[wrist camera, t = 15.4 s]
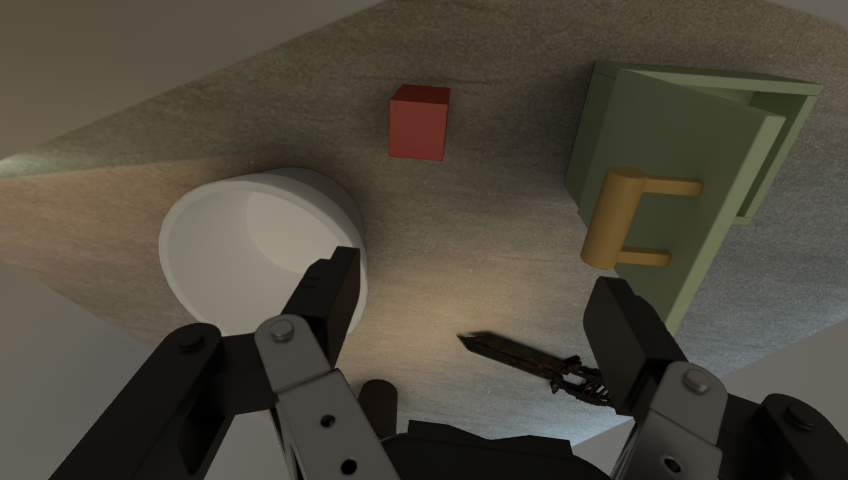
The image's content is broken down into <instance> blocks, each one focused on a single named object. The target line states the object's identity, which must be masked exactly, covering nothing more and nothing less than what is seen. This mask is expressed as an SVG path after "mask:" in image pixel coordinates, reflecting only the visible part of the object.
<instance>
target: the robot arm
mask: <svg viewBox="0 0 848 480" xmlns="http://www.w3.org/2000/svg"><path fill="white" fill-rule="evenodd" d="M360 287H361V254H360V249H359V248H354V247H345V246H337V247H336V249H335V251H334V253H333V254H332V256H331V258H330V259H322V258H320V259H319V260H317V261H316V262H314V263H313V264H311V265H310V266H309V267H308V269H307V270H306V272H305V274H304V275H303V278H302V279H301V280H300V282H299V284H298V286H297V287H296V289H295V290H294V292H293V293H292V295H291V297H290V298H289V300H288V302H287V303H286V305H285V307H284V308H283V310H282V312H281V313H280V315H277V316H274V317H271V318H269V319H267V320H265V321H264V322H263V323H261V324H260V325H259V327H258V328H257V329H256V331H255V332H252V333H247V334H240V335H231V336H223V337H222V334H221V331H220V329H219V328H218V327H217V326H215V325H213V324H210V323H194V324H189V325H186V326H183V327H180V328H178V329H176V330H175V331H173V332H171V333H170V334H169V335H168V336H166V337H165V339H164V340H163V341H162V342H161V343H160V344H159V346H158V347H157V348H156V349H155V351H154V352H153V353H152V354H151V355H150V357H149V358H148V359H147V360H146V362H145V363H144V364H143V365H142V366H141V368H140V369H139V370H138V371H137V372H136V374H135V375H134V376H133V377H132V379H131V380H130V381H129V382H128V383H127V385H126V386H125V387H124V388H123V389H122V391H121V392H120V393H119V394H118V395H117V397H116V398H115V399H114V400H113V402H112V403H111V404H110V405H109V406H108V408H107V409H106V410H105V411H104V413H103V414H102V415H101V416H100V417H99V419H98V420H97V421H96V422H95V424H94V425H93V426H92V427H91V428H90V429H89V431H88V432H87V433H86V434H85V436H84V437H83V438H82V439H81V440H80V442H79V443H78V444H77V445H76V447H75V448H74V449H73V450H72V451H71V453H70V454H69V455H68V456H67V457H66V459H65V460H64V461H63V462H62V464H61V465H60V466H59V467H58V468H57V470H56V471H55V472H54V473H53V474H52V476H51V477H50V478H49V479H48V480H204V478H205V476H206V474H207V471H208V470H209V467H210V465H211V463H212V461H213V459H214V457H215V455H216V453H217V451H218V449H219V447H220V445H221V443H222V441H223V439H224V437H225V435H226V433H227V431H228V429H229V427H230V425H231V423H232V421H233V419H234V417H235V415H238V414H243V413H250V412H256V411H261V410H267V409H268V410H269V413H270V416H271V419H272V422H273V425H274V428H275V431H276V434H277V437H278V441H279V444H280V446H281V449H282V453H283V456H284V459H285V462H286V465H287V469H288V473H289V477H290V480H717V478H718V480H848V443H847V442H846V441H845V440H844V438H843V437H842V436H841V435H840V434H839V432H838V431H837V430H836V429H835V428H834V426H833V425H832V424H831V423H830V422H829V421H828V420H827V419H826V418H825V417H824V416H823V415H822V414H821V413H820V412H818V411H817V410H816V409H814V408H813V407H811V406H810V405H808V404H806V403H805V402H802V401H801V400H799V399H796V398H794V397H791V396H788V395H784V394H777V393H776V394H770V395H768V396H767V397H766V398H765V399H764V400H763V402H762V403H761V404H758V403H754V402H752V401H749V400H746V399H743V398H740V397H737V396H734V395H731V394H729V393H727V390H726V389H725V387H724V385H723V384H722V383H721V381H720V380H719V379H718V378H717V377H716V376H714V375H713V374H712V373H710V372H709V371H707V370H706V369H704V368H702V367H700V366H698V365H696V364H693V363H689V361H688V360H687V358H686V357H685V355H684V354H683V352H682V350H681V349H680V347H679V346H678V344H677V343H676V341H675V340H674V338H673V337H672V335H671V334H670V332H669V331H667V327H666V326H665V324H664V323H663V321H661V318H660V317H659V315H658V313H657V312H656V310H655V309H654V307H653V306H652V305H650V304H649V303H648V302H647V301H646V300H645V299H643V298H642V297H641V296H638V295H635V294H634V292H633V290H632V289H631V287H630V286H629V284H628V282H627V281H626V280H625V279H621V278H613V277H604V276H600V277H599V278H598V279H597V280H596V283H595V285H594V288H593V291H592V293H591V296H590V299H589V301H588V304H587V307H586V309H585V312H584V317H583V326H584V331H585V333H586V336H587V338H588V341H589V344H590V346H591V349H592V351H593V354H594V357H595V359H596V362H597V364H598V367H599V370H600V372H601V375H602V377H603V380H604V383H605V385H606V388H607V390H608V393H609V396H610V398H611V401H612V403H613V406H614V409H615V411H616V414H617V415H624V416H632V417H634V420H635V422H636V423H635V425H634V426H633V428H632V430H631V432H630V434H629V436H628V438H627V440H626V442H625V444H624V447H623V448H622V451H621V453H620V455H619V457H618V459H617V461H616V463H615V465H614V467H613V469H612V471H611V474H610V476H608V475H607V474H605V473H604V472H602V471H601V470H600V469H599V468H597V467H596V466H594V465H593V464H591V463H589V462H588V461H586V460H584V459H582V458H580V457H578V456H575V455H573V453H572V449H571V445H570V441H569V440H564V439H556V438H548V437H541V436H533V435H526V436H518V437H511V438H503V439H495V440H489V439H485V438H482V437H480V436H477V435H474V434H472V433H469V432H466V431H464V430H461V429H458V428H456V427H453V426H450V425H447V424H439V423H431V422H423V421H415V420H409V425H408V432H406V433H399V434H396V435H392V436H389V437H386V438H384V439H381V440H379V439H378V437H377V435H376V434H375V432H374V430H373V428H372V426H371V424H370V423H369V421H368V419H367V417H366V415H365V413H364V412H363V410H362V408H361V406H360V404H359V402H358V401H357V399H356V397H355V395H354V393H353V391H352V390H351V388H350V386H349V384H348V382H347V381H346V379H345V377H344V375H343V373H342V372H341V370H340V369H338V368H335V369H334V367H335V365H336V362H337V359H338V356H339V353H340V351H341V348H342V345H343V342H344V340H345V337H346V334H347V331H348V328H349V326H350V323H351V320H352V317H353V315H354V312H355V309H356V306H357V303H358V300H359V295H360Z"/></svg>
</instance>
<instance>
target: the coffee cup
mask: <svg viewBox="0 0 848 480" xmlns="http://www.w3.org/2000/svg"><path fill="white" fill-rule="evenodd" d="M397 395H398V392H397V390H396V388H395V387H394V386H393V385H392V384H391V383H389V382H387V381H384V380H371V381H368V382H367V383H365V384H364V385H363V387H362V390H361V392H360V395H359V397H358V400H357V401H358V402H359V404H360V406H361V408H362V410H363V412H364V413H365V415H366V417H367V419H368V421H369V423H370V424H371V426H372V428H373V430H374V432H375V434H376V435H377V437H378V439H379V440H381V439H384V438H386V437H389V436H392V435H396V423H397Z"/></svg>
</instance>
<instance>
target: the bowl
mask: <svg viewBox="0 0 848 480" xmlns="http://www.w3.org/2000/svg"><path fill="white" fill-rule="evenodd" d="M337 246H345V247H354V248H359V249H360V254H361V287H360V295H359V300H358V303H357V306H356V309H355V312H354V315H353V317H352V320H351V323H350V326H349V328H348V331H347V334H346V336H347V335H348V334H349V333H350V332H352V331H353V330H354V328H355V327H356V325H357V324H358V322H359V321H360V320H361V318H362V316H363V313H364V310H365V307H366V305H367V298H368V288H369V287H368V271H367V260H366V247H365V231H364V224H363V219H362V216H361V213H360V211H359V208H358V207H357V205H356V203H355V202H354V200H353V198H352V197H351V196H350V195H349V194H348V193H347V191H346V190H345V189H344V188H343V187H341V186H340V185H339V184H338V183H337V182H335V181H334V180H332V179H331V178H329V177H327V176H325V175H324V174H321V173H319V172H316V171H313V170H310V169H305V168H299V167H284V168H279V169H274V170H269V171H265V172H260V173H255V174H248V175H243V176H238V177H234V178H229V179H224V180H220V181H215V182H211V183H207V184H203V185H201V186H199V187H197V188H195V189H193V190H191V191H189V192H187V193H185V194H184V195H183V196H182V197H181V198H180V199H179V200H178V201H177V202H175V203H174V204H173V205H172V207H171V209H170V210H169V212H168V214H167V215H166V217H165V218H164V220H163V224H162V227H161V231H160V235H159V257H160V261H161V266H162V270H163V273H164V275H165V277H166V279H167V281H168V284H169V286H170V288H171V289H172V291H173V292H174V294H175V295H176V297H177V298H178V300H179V301H180V302H181V304H182V305H183V306H184V307H185V308H186V309H187V310H188V311H189V312H190V313H191V314H192V315H193V316H194V317H195V318H196V319H197V320H199V321H200V322H201V323H210V324H213V325H215V326H217V327H218V328H219V329H220V331H221V334H222V337H223V336H231V335H240V334H247V333H252V332H255V331H256V329H257V328H258V327H259V325H260V324H261V323H263V322H264V321H265V320H267V319H269V318H271V317H274V316H277V315H280V313H281V312H282V310H283V308H284V307H285V305H286V303H287V302H288V300H289V298H290V297H291V295H292V293H293V292H294V290H295V289H296V287H297V286H298V284H299V282H300V280H301V279H302V278H303V275H304V274H305V272H306V270H307V269H308V267H309V266H310V265H311V264H313V263H314V262H316V261H317V260H319V259H320V258H322V259H330V258H331V256H332V254H333V253H334V251H335V249H336V247H337Z"/></svg>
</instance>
